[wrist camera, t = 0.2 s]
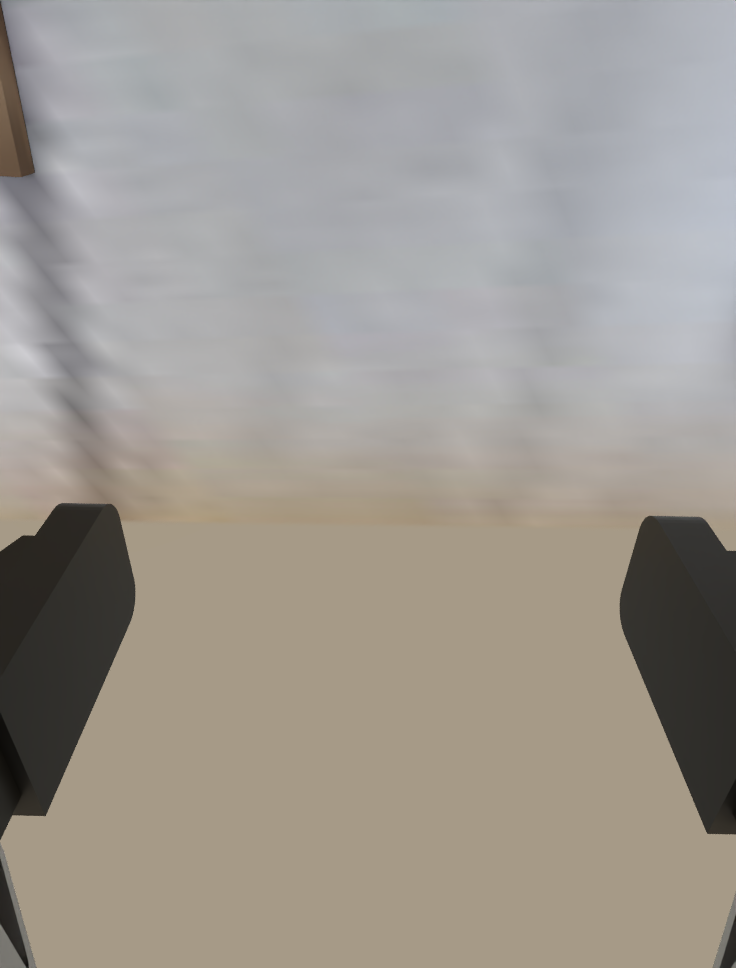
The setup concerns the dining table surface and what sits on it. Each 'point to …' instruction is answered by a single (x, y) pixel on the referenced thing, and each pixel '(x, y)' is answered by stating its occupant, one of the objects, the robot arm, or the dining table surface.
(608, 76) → the dining table surface
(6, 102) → the hinged wooden plank
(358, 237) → the dining table surface
